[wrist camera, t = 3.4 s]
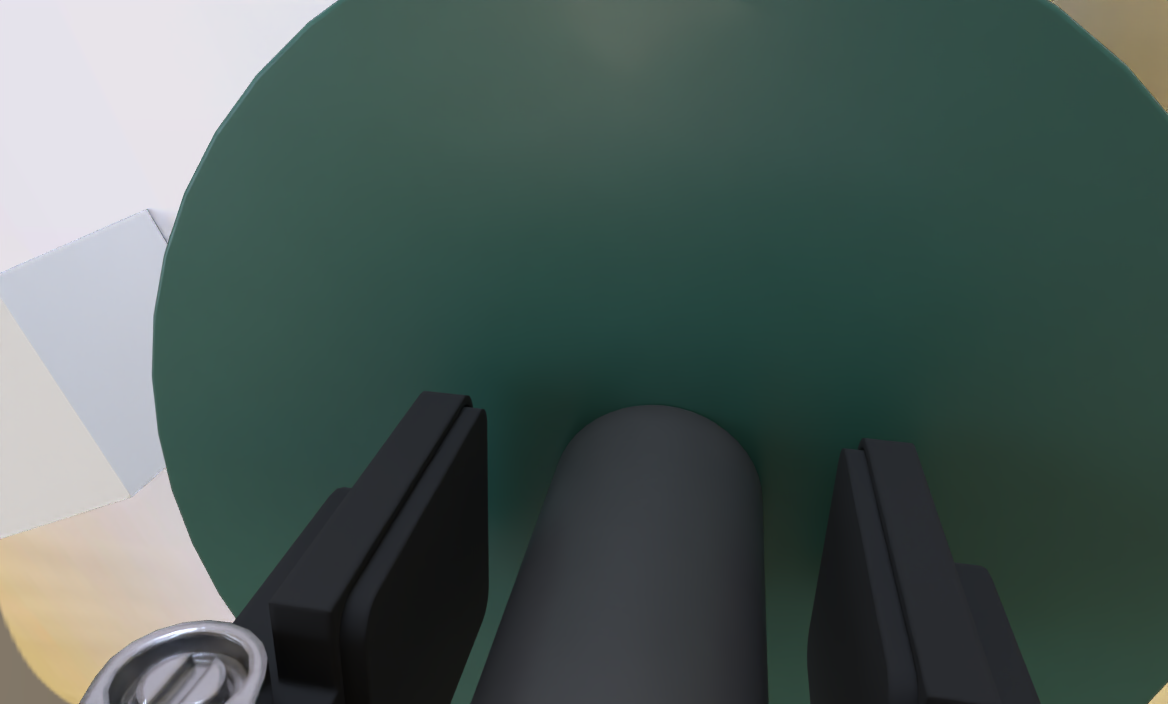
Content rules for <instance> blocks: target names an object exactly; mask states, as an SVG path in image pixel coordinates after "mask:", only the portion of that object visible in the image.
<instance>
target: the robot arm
mask: <svg viewBox="0 0 1168 704" xmlns="http://www.w3.org/2000/svg"><path fill="white" fill-rule="evenodd" d="M488 594H489V549H488V442H487V414H486V411H485V409H480V408H473V404H472V400H471V398H470V396H469V395H459V394H450V393H441V392H432V391H423V392H422V393H421V394H420V395H419V396H418V398H417V399H416V400H415V402H414V403H413V404H412V406H411V407H410V409H409V410H408V411H407V413H406V414H405V415H404V417H403V418H402V420H401V421H400V422H399V424H398V425H397V426H396V428H395V429H394V431H393V432H392V433H391V435H390V436H389V437H388V439H387V440H386V442H385V443H384V444H383V446H382V447H381V448H380V450H379V451H378V452H377V454H376V455H375V457H374V458H373V459H372V461H371V462H370V463H369V465H368V466H367V468H366V469H365V470H364V472H363V473H362V474H361V476H360V477H359V479H358V480H357V481H356V483H355V484H354V485H353V487H352V488H348V487H341V488H337V489H336V490H335V491H334V492H333V493H332V494H331V495H330V496H329V497H328V498H327V500H326V501H325V502H324V504H323V505H322V506H321V508H320V509H319V510H318V512H317V513H316V514H315V515H314V517H313V518H312V519H311V521H310V522H309V523H308V525H307V526H306V527H305V529H304V530H303V531H302V533H301V534H300V535H299V537H298V538H297V539H296V541H295V542H294V543H293V544H292V546H291V547H290V548H289V550H288V551H287V552H286V554H285V555H284V556H283V558H282V559H281V560H280V562H279V563H278V564H277V566H276V567H275V568H274V570H273V571H272V572H271V573H270V575H269V576H268V577H267V579H266V580H265V581H264V583H263V584H262V585H261V587H260V588H259V589H258V591H257V592H256V593H255V595H254V596H253V597H252V599H251V600H250V601H249V602H248V604H247V605H246V606H245V608H244V609H243V610H242V612H241V613H240V614H239V616H238V617H237V618H236V620H235V621H234V622H233V623H230V622H221V621H212V620H204V621H194V622H184V623H180V624H176V625H173V626H169V627H166V628H162V629H159V630H156V631H154V632H152V633H150V634H148V635H146V636H144V637H142V638H140V639H137V640H135V641H133V642H132V643H130V644H129V645H128V646H126V647H125V648H124V649H122V650H121V651H120V652H118V653H117V654H116V655H114V656H113V657H112V658H110V660H109V661H108V662H107V663H106V664H105V666H104V667H103V668H102V669H101V670H100V672H99V673H98V674H97V675H96V676H95V678H94V680H93V681H92V683H91V685H90V686H89V688H88V690H87V691H86V693H85V694H84V696H83V698H82V699H81V701H80V703H79V704H451V701H452V698H453V696H454V693H455V691H456V688H457V686H458V683H459V681H460V678H461V675H462V673H463V670H464V668H465V665H466V663H467V660H468V657H469V655H470V652H471V650H472V647H473V645H474V642H475V640H476V637H477V634H478V632H479V629H480V627H481V624H482V622H483V619H484V616H485V612H486V608H487V602H488ZM807 670H808V682H809V694H810V704H1041V703H1040V700H1039V698H1038V695H1037V692H1036V690H1035V687H1034V685H1033V682H1032V680H1031V677H1030V675H1029V672H1028V669H1027V667H1026V664H1025V662H1024V659H1023V657H1022V654H1021V651H1020V649H1019V646H1018V644H1017V641H1016V639H1015V636H1014V633H1013V631H1012V628H1011V626H1010V623H1009V621H1008V618H1007V615H1006V613H1005V610H1004V608H1003V605H1002V603H1001V600H1000V597H999V595H998V592H997V590H996V587H995V585H994V582H993V579H992V577H991V576H990V574H989V572H988V570H987V569H986V568H984V567H982V566H979V565H971V564H963V563H955V562H954V560H953V557H952V554H951V551H950V548H949V545H948V542H947V540H946V537H945V534H944V531H943V528H942V525H941V522H940V519H939V516H938V513H937V510H936V507H935V504H934V501H933V498H932V495H931V492H930V489H929V486H928V483H927V480H926V477H925V474H924V471H923V469H922V466H921V463H920V460H919V457H918V454H917V451H916V448H915V446H914V444H913V443H906V442H896V441H887V440H878V439H869V438H862V439H861V441H860V443H859V446H858V450H855V449H846V448H843V449H842V450H841V453H840V456H839V461H838V466H837V472H836V478H835V484H834V489H833V495H832V501H831V507H830V512H829V518H828V524H827V529H826V535H825V541H824V547H823V552H822V558H821V564H820V570H819V575H818V581H817V587H816V592H815V598H814V604H813V610H812V615H811V621H810V627H809V633H808V642H807Z"/></svg>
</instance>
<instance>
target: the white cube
mask: <svg viewBox="0 0 1168 704" xmlns="http://www.w3.org/2000/svg"><path fill="white" fill-rule="evenodd" d="M166 247H167V243H166V241H165V240H164V238H163V236H162V235H161V233H160V231H159V229H158V228H157V226H156V224H155V222H154V221H153V219H152V217H151V216H150V214H149V212H148V210H147V209H146V210H143V211H141V212H139V213H136V214H134V215H132V216H130V217H127V218H125V219H123V220H120V221H118V222H116V223H113V224H111V225H109V226H107V227H104V228H102V229H100V230H97V231H95V232H93V233H91V234H88V235H86V236H84V237H81V238H79V239H77V240H74V241H72V242H70V243H68V244H65V245H63V246H61V247H58V248H56V249H54V250H51V251H49V252H47V253H45V254H42V255H40V256H38V257H35V258H33V259H31V260H29V261H26V262H24V263H22V264H19V265H17V266H15V267H12V268H10V269H8V270H6V271H3V272H1V273H0V539H2V538H6V537H9V536H12V535H15V534H18V533H21V532H24V531H28V530H31V529H34V528H37V527H40V526H43V525H46V524H50V523H53V522H56V521H59V520H62V519H65V518H68V517H72V516H75V515H78V514H81V513H84V512H87V511H90V510H94V509H97V508H100V507H103V506H106V505H109V504H112V503H116V502H119V501H122V500H125V499H128V498H131V497H133V496H134V495H135V494H136V493H137V492H138V491H139V490H141V489H142V488H143V487H144V486H145V485H146V484H147V483H148V482H149V481H151V480H152V479H153V478H154V477H155V476H156V475H157V474H158V473H159V472H161V471H162V470H163V469H164V468H165V467H166V464H165V460H164V456H163V452H162V448H161V444H160V440H159V436H158V429H157V420H156V411H155V402H154V393H153V384H152V346H153V315H154V309H155V303H156V298H157V292H158V286H159V280H160V274H161V269H162V263H163V257H164V253H165V250H166Z"/></svg>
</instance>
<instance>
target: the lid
mask: <svg viewBox="0 0 1168 704" xmlns="http://www.w3.org/2000/svg"><path fill="white" fill-rule="evenodd" d="M152 384H153V393H154V402H155V411H156V420H157V429H158V436H159V440H160V444H161V448H162V452H163V456H164V460H165V464H166V468H167V472H168V476H169V480H170V484H171V489H172V492H173V494H174V497H175V500H176V502H177V505H178V507H179V510H180V513H181V515H182V518H183V520H184V523H185V526H186V528H187V531H188V533H189V536H190V539H191V541H192V544H193V546H194V547H195V549H196V551H197V553H198V555H199V557H200V559H201V561H202V563H203V565H204V566H205V568H206V570H207V572H208V574H209V576H210V578H211V580H212V582H213V584H214V585H215V587H216V589H217V591H218V593H219V595H220V596H221V597H222V599H223V600H224V602H225V603H226V605H227V606H228V608H229V609H230V611H231V612H232V614H233V615H234V617H235V618H237V617H238V616H239V614H240V613H241V612H242V610H243V609H244V608H245V606H246V605H247V604H248V602H249V601H250V600H251V599H252V597H253V596H254V595H255V593H256V592H257V591H258V589H259V588H260V587H261V585H262V584H263V583H264V581H265V580H266V579H267V577H268V576H269V575H270V573H271V572H272V571H273V570H274V568H275V567H276V566H277V564H278V563H279V562H280V560H281V559H282V558H283V556H284V555H285V554H286V552H287V551H288V550H289V548H290V547H291V546H292V544H293V543H294V542H295V541H296V539H297V538H298V537H299V535H300V534H301V533H302V531H303V530H304V529H305V527H306V526H307V525H308V523H309V522H310V521H311V519H312V518H313V517H314V515H315V514H316V513H317V512H318V510H319V509H320V508H321V506H322V505H323V504H324V502H325V501H326V500H327V498H328V497H329V496H330V495H331V494H332V493H333V492H334V491H335V490H336V489H337V488H341V487H348V488H352V487H353V485H354V484H355V483H356V481H357V480H358V479H359V477H360V476H361V474H362V473H363V472H364V470H365V469H366V468H367V466H368V465H369V463H370V462H371V461H372V459H373V458H374V457H375V455H376V454H377V452H378V451H379V450H380V448H381V447H382V446H383V444H384V443H385V442H386V440H387V439H388V437H389V436H390V435H391V433H392V432H393V431H394V429H395V428H396V426H397V425H398V424H399V422H400V421H401V420H402V418H403V417H404V415H405V414H406V413H407V411H408V410H409V409H410V407H411V406H412V404H413V403H414V402H415V400H416V399H417V398H418V396H419V395H420V394H421V393H422V392H423V391H432V392H441V393H450V394H459V395H469V396H470V398H471V400H472V404H473V408H480V409H485V411H486V414H487V442H488V549H489V594H488V602H487V608H486V612H485V616H484V619H483V622H482V624H481V627H480V629H479V632H478V634H477V637H476V640H475V642H474V645H473V647H472V650H471V652H470V655H469V657H468V660H467V663H466V665H465V668H464V670H463V673H462V675H461V678H460V681H459V683H458V686H457V688H456V691H455V693H454V696H453V698H452V701H451V704H810V694H809V682H808V670H807V642H808V633H809V627H810V621H811V615H812V610H813V604H814V598H815V592H816V587H817V581H818V575H819V570H820V564H821V558H822V552H823V547H824V541H825V535H826V529H827V524H828V518H829V512H830V507H831V501H832V495H833V489H834V484H835V478H836V472H837V466H838V461H839V456H840V453H841V450H842V449H843V448H846V449H855V450H858V446H859V443H860V441H861V439H862V438H869V439H878V440H887V441H896V442H906V443H913V444H914V446H915V448H916V451H917V454H918V457H919V460H920V463H921V466H922V469H923V471H924V474H925V477H926V480H927V483H928V486H929V489H930V492H931V495H932V498H933V501H934V504H935V507H936V510H937V513H938V516H939V519H940V522H941V525H942V528H943V531H944V534H945V537H946V540H947V542H948V545H949V548H950V551H951V554H952V557H953V560H954V562H955V563H963V564H971V565H979V566H982V567H984V568H986V569H987V570H988V572H989V574H990V576H991V577H992V579H993V582H994V585H995V587H996V590H997V592H998V595H999V597H1000V600H1001V603H1002V605H1003V608H1004V610H1005V613H1006V615H1007V618H1008V621H1009V623H1010V626H1011V628H1012V631H1013V633H1014V636H1015V639H1016V641H1017V644H1018V646H1019V649H1020V651H1021V654H1022V657H1023V659H1024V662H1025V664H1026V667H1027V669H1028V672H1029V675H1030V677H1031V680H1032V682H1033V685H1034V687H1035V690H1036V692H1037V695H1038V698H1039V700H1040V703H1041V704H1148V703H1149V702H1150V701H1151V700H1152V699H1153V697H1154V696H1155V695H1156V694H1157V693H1158V692H1159V691H1160V690H1161V689H1162V688H1163V687H1164V686H1165V685H1166V683H1167V682H1168V113H1167V112H1166V111H1165V110H1164V109H1163V107H1162V106H1161V105H1160V104H1159V103H1158V102H1157V100H1156V99H1155V98H1154V97H1153V96H1152V94H1151V93H1150V92H1149V91H1148V90H1147V89H1146V87H1145V86H1144V85H1143V84H1142V83H1141V81H1140V80H1139V79H1138V78H1137V77H1136V76H1135V74H1134V73H1133V72H1132V71H1131V70H1130V68H1129V67H1128V66H1127V65H1126V64H1125V63H1124V62H1122V61H1121V60H1120V59H1119V58H1118V57H1117V56H1115V55H1114V54H1113V53H1112V52H1111V51H1110V50H1108V49H1107V48H1106V47H1105V46H1104V45H1103V44H1101V43H1100V42H1099V41H1098V40H1097V39H1096V38H1094V37H1093V36H1092V35H1091V34H1090V33H1089V32H1087V31H1086V30H1085V29H1084V28H1083V27H1082V26H1080V25H1079V24H1078V23H1077V22H1076V21H1075V20H1073V19H1072V18H1071V17H1070V16H1069V15H1068V14H1066V13H1065V12H1064V11H1063V10H1062V9H1061V8H1059V7H1058V6H1057V5H1055V4H1053V3H1052V2H1050V1H1048V0H338V1H336V2H335V3H334V4H332V5H331V6H330V7H328V8H327V9H326V10H324V11H323V12H322V13H320V14H319V15H317V16H316V17H315V18H313V19H312V20H311V21H309V22H308V23H307V24H306V25H305V26H304V27H303V28H302V29H301V30H300V31H299V32H298V33H297V34H296V35H295V36H294V37H293V38H292V39H291V40H290V41H289V43H288V44H287V45H286V46H285V47H284V48H283V49H282V50H281V51H280V52H279V53H278V54H277V55H276V56H275V57H274V58H273V59H272V60H271V61H270V62H269V63H268V64H267V65H266V66H265V67H264V68H263V69H262V70H261V71H260V72H259V73H258V74H257V75H256V76H255V78H254V79H253V81H252V82H251V83H250V85H249V86H248V87H247V89H246V90H245V92H244V93H243V94H242V96H241V97H240V99H239V100H238V101H237V103H236V104H235V105H234V107H233V108H232V110H231V111H230V112H229V114H228V115H227V117H226V118H225V119H224V121H223V122H222V123H221V125H220V126H219V128H218V129H217V130H216V132H215V134H214V136H213V138H212V140H211V142H210V143H209V145H208V147H207V149H206V151H205V153H204V155H203V157H202V159H201V161H200V163H199V165H198V167H197V169H196V171H195V173H194V175H193V177H192V179H191V181H190V183H189V185H188V187H187V189H186V191H185V193H184V196H183V199H182V202H181V205H180V208H179V211H178V214H177V217H176V220H175V223H174V226H173V229H172V232H171V235H170V238H169V241H168V244H167V247H166V250H165V253H164V257H163V263H162V269H161V274H160V280H159V286H158V292H157V298H156V303H155V309H154V315H153V346H152Z"/></svg>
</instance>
